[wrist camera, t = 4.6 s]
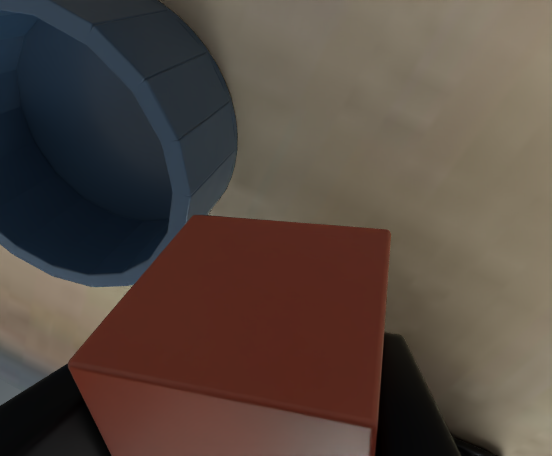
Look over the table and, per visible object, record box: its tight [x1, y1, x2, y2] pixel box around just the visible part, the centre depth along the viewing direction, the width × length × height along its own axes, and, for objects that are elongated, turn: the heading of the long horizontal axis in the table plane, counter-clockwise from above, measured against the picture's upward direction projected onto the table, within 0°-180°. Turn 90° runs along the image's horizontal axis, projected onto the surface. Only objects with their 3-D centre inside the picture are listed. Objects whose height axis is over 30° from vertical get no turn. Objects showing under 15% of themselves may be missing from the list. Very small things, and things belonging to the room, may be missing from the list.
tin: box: [0, 0, 237, 287], centre depth 17 cm, size 11×12×5 cm
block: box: [68, 215, 391, 456], centre depth 8 cm, size 4×4×4 cm
